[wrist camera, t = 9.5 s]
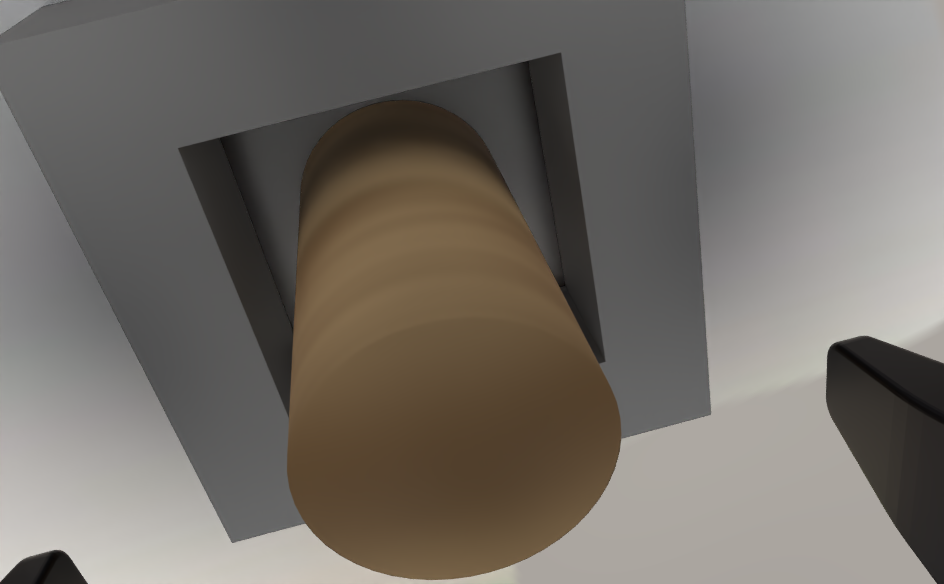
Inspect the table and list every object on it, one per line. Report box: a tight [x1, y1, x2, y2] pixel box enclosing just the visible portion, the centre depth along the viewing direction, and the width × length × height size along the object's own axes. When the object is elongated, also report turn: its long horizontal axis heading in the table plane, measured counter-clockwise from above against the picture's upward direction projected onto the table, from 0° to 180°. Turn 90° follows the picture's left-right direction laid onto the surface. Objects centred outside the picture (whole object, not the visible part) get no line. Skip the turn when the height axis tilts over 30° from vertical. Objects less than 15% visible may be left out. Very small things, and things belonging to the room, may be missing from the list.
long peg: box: [287, 100, 621, 580], centre depth 13 cm, size 4×4×8 cm
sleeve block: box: [0, 0, 711, 543], centre depth 15 cm, size 10×10×3 cm
